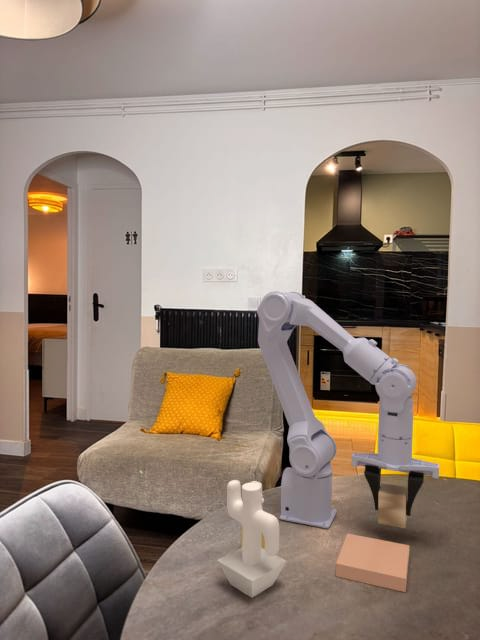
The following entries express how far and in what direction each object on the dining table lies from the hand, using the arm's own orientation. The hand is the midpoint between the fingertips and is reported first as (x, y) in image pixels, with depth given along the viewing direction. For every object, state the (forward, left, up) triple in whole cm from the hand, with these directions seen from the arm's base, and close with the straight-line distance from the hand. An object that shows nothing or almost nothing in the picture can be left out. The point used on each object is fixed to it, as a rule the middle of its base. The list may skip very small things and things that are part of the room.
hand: (392, 510), depth 84 cm
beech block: (0, 0, -2) cm, 2 cm away
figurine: (-18, -23, -5) cm, 30 cm away
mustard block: (-22, -13, -3) cm, 26 cm away
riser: (-2, -11, -5) cm, 12 cm away
